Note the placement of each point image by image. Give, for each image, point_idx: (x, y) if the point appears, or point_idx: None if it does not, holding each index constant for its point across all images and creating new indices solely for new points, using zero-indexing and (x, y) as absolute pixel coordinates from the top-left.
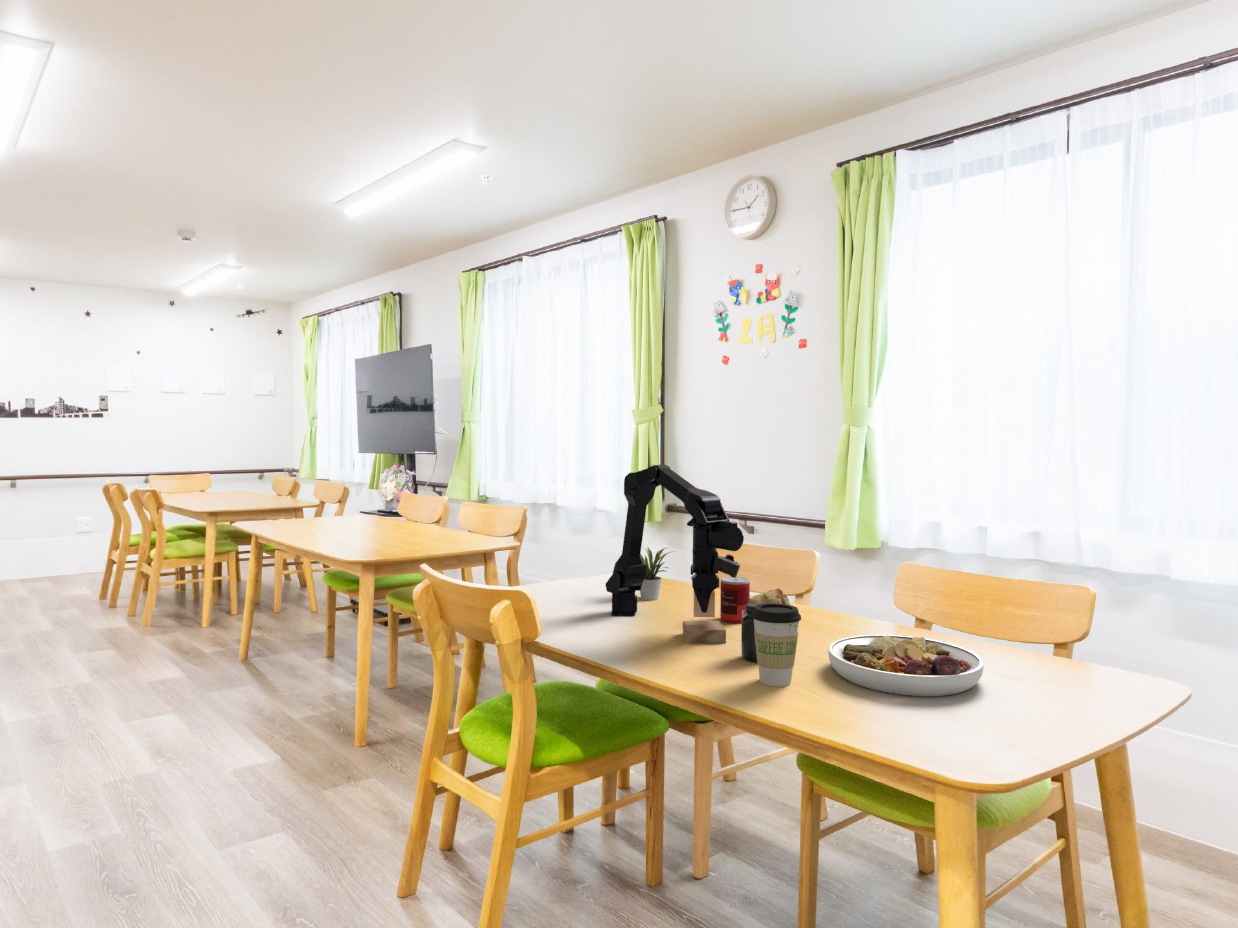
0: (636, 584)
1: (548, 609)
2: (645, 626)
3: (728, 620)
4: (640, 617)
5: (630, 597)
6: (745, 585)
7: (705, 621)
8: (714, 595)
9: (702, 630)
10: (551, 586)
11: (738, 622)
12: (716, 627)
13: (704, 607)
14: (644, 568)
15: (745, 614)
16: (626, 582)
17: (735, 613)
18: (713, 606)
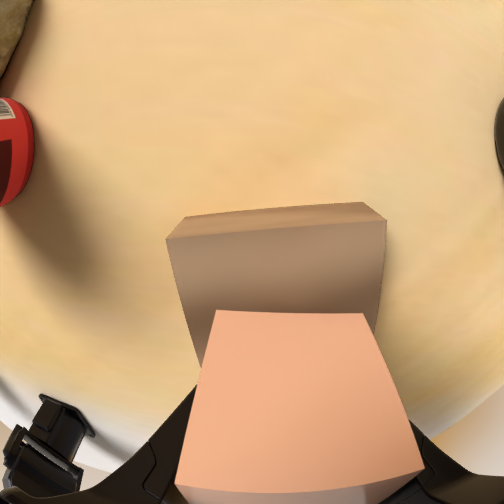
0: (40, 457)
1: (106, 470)
2: (154, 414)
3: (27, 172)
4: (78, 401)
5: (58, 440)
6: None
7: (195, 308)
8: (414, 446)
9: (373, 330)
10: (9, 426)
11: (32, 130)
12: (328, 266)
13: None
14: (17, 481)
15: (4, 106)
16: (70, 486)
17: (7, 147)
18: (383, 374)
